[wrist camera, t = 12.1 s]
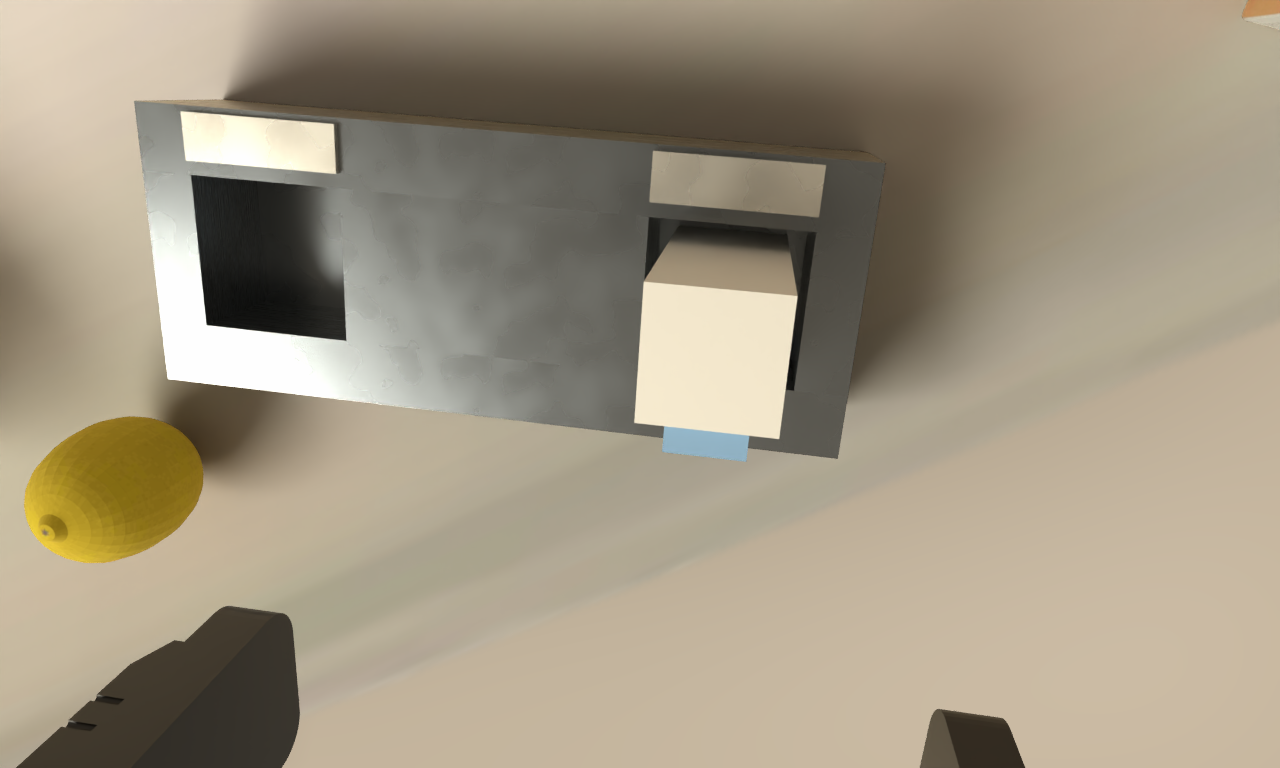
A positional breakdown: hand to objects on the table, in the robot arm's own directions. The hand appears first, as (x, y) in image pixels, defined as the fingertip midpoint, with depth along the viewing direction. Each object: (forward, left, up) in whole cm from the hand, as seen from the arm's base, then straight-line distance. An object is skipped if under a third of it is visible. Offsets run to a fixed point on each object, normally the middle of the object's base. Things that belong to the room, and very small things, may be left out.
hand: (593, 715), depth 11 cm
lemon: (+10, -23, -24) cm, 35 cm away
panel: (-1, -7, -24) cm, 25 cm away
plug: (0, +1, -23) cm, 23 cm away
